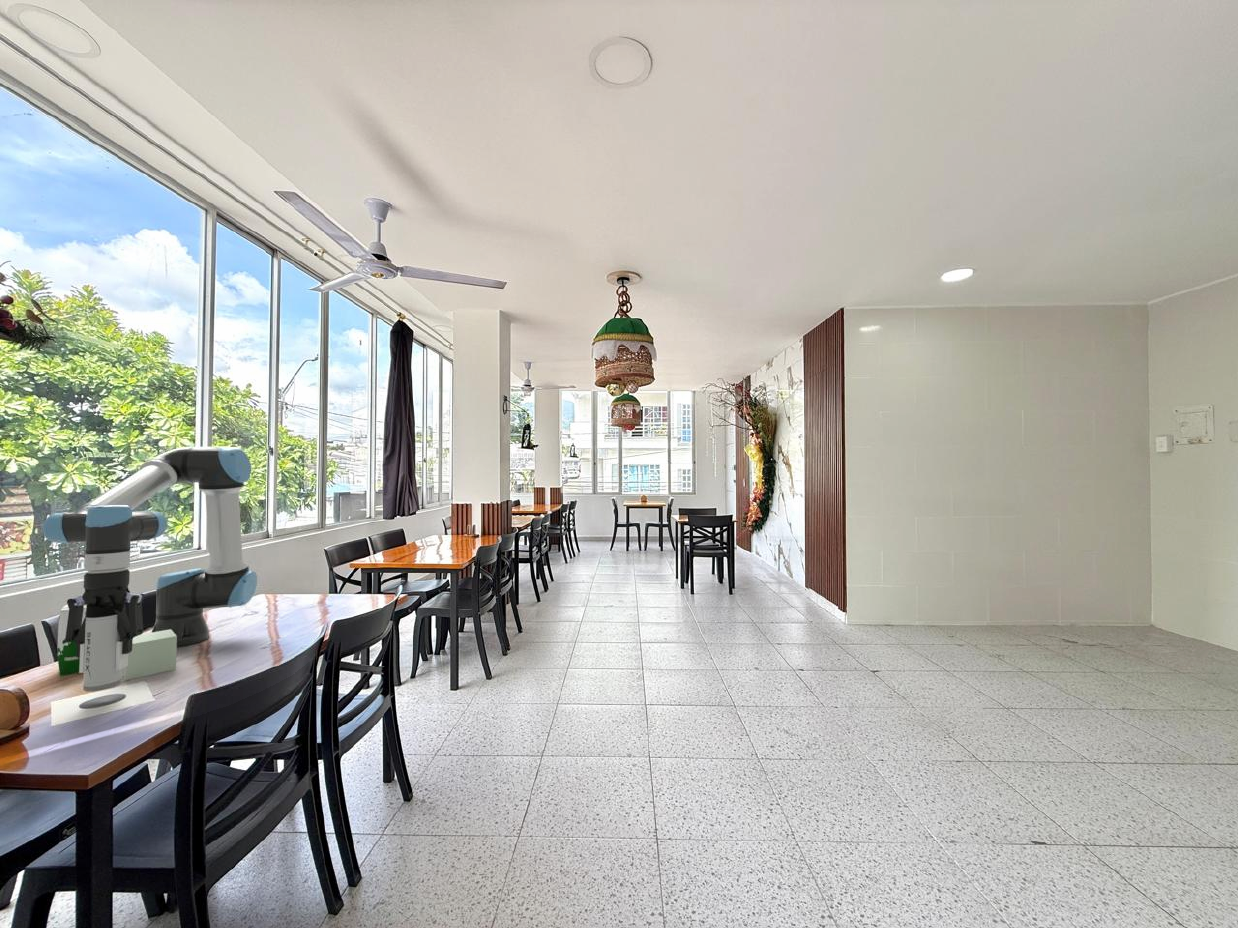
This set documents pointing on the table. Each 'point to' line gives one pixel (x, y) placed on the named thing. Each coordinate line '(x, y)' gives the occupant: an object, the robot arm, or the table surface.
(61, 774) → the table surface
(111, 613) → the travel mug
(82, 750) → the table surface
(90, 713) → the board
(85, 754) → the table surface
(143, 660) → the mint green block
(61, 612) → the milk carton
